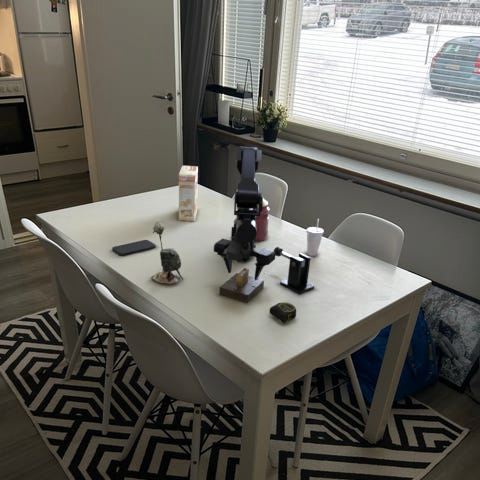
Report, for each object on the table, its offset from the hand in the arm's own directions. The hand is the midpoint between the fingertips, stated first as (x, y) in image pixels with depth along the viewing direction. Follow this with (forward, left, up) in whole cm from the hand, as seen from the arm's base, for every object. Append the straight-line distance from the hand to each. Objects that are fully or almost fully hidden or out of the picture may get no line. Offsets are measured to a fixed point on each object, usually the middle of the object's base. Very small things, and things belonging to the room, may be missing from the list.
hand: (242, 276), depth 161 cm
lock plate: (0, 0, -5) cm, 5 cm away
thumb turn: (0, 0, -2) cm, 2 cm away
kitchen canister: (-18, +45, -6) cm, 49 cm away
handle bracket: (+14, +13, -5) cm, 20 cm away
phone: (-49, +9, -5) cm, 50 cm away
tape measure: (+18, -9, -6) cm, 21 cm away
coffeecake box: (-52, +52, -6) cm, 74 cm away
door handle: (+9, +15, +2) cm, 18 cm away
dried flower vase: (-24, -6, -6) cm, 25 cm away
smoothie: (+9, +42, -6) cm, 43 cm away
